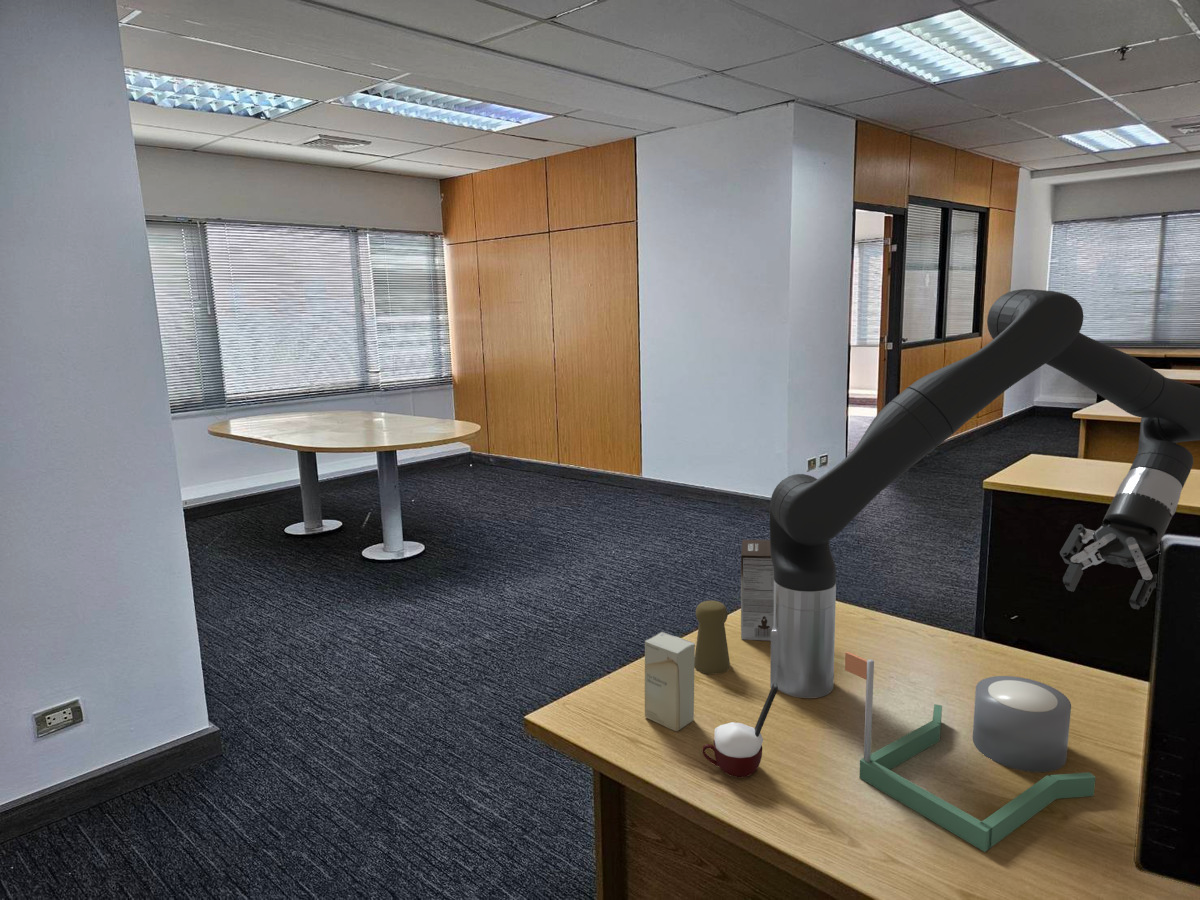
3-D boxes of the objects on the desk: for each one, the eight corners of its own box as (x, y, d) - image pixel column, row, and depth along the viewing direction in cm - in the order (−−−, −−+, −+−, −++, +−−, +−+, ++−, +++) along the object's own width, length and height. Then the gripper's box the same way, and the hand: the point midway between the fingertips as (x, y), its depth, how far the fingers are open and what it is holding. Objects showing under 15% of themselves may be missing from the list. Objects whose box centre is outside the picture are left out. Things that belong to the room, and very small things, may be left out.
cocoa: (699, 776, 99) (693, 691, 96) (716, 749, 104) (710, 668, 102) (771, 793, 94) (767, 705, 92) (785, 764, 100) (781, 680, 97)
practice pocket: (931, 717, 110) (936, 612, 107) (1095, 794, 92) (1107, 671, 89) (840, 766, 99) (843, 651, 96) (1005, 864, 81) (1016, 727, 78)
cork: (708, 653, 132) (708, 593, 129) (737, 664, 127) (737, 602, 125) (686, 666, 127) (685, 604, 125) (715, 677, 123) (715, 613, 121)
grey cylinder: (976, 763, 99) (979, 709, 97) (969, 719, 109) (972, 670, 107) (1074, 779, 95) (1079, 723, 93) (1058, 733, 105) (1062, 681, 103)
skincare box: (643, 717, 112) (641, 640, 110) (662, 705, 115) (661, 630, 113) (678, 733, 108) (676, 653, 106) (696, 719, 111) (695, 642, 109)
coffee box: (741, 619, 145) (741, 538, 142) (776, 620, 144) (776, 539, 141) (740, 640, 136) (740, 554, 133) (777, 642, 135) (778, 555, 132)
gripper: (1084, 483, 118) (1040, 570, 114) (1194, 500, 106) (1150, 599, 102) (1098, 509, 121) (1056, 595, 118) (1206, 529, 110) (1163, 625, 106)
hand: (1100, 597), depth 110 cm, fingers open, 8 cm apart
